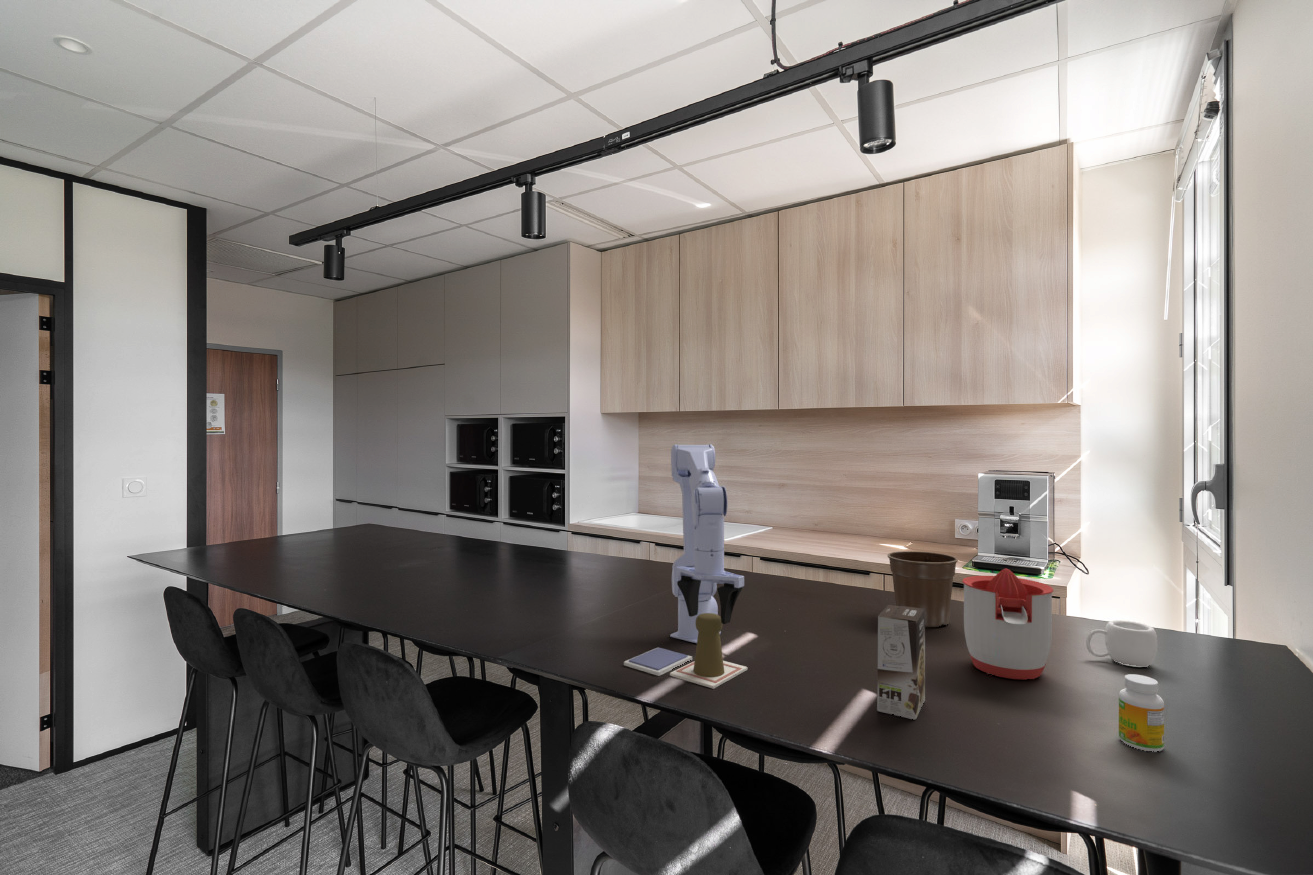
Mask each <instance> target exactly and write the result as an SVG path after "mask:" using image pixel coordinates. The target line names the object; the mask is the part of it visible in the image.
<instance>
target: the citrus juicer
mask: <svg viewBox="0 0 1313 875" xmlns="http://www.w3.org/2000/svg"><path fill="white" fill-rule="evenodd" d="M961 583H963V628H964V631H963V632H964V637H965V641H966V642H965V643H966V646H967V649H968V650H967V651H968V654H969V657H970V659H971V662H972V664H973V666H974V667H975V668H976V669H978V670H980V671H981V672H984V673H985V672H986V673H989V674H992V675H995V676H994V677H996V676H997V677H1000V678H1004V679H1005V678H1006V679H1010V680H1011V679H1012V680H1027V679H1033V680H1034V679H1036V678H1040V676H1041V675H1042V673H1043V672H1044V669H1045V667H1046V664H1047V660H1048V657H1049V656H1050V655H1049V654H1050V650H1051V645H1052V633H1053V632H1052V631H1053V629H1052V628H1053V627H1052V626H1053V625H1052V624H1053V623H1052V622H1053V621H1052V620H1053V619H1052V618H1053V616H1052V615H1053V614H1052V610H1053V608H1052V607H1053V604H1052V602H1053V592H1054V589H1053V587H1052V586H1050V585H1048V584H1046V583H1043V582H1039V581H1035V580H1032V579H1031V580H1030V579H1027V578H1026V579H1025V578H1020V577H1018V576H1017V575H1016V574H1015V573H1014V572H1013V571H1011V569H1010V568H1009V569H1008V568H1003V569H1001V570H1000V571H999V572H998V573H997V574H996V575H972V576H967V577H965V578H963V579H962V582H961ZM986 673H985V674H986ZM992 675H991V676H992Z"/></svg>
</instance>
